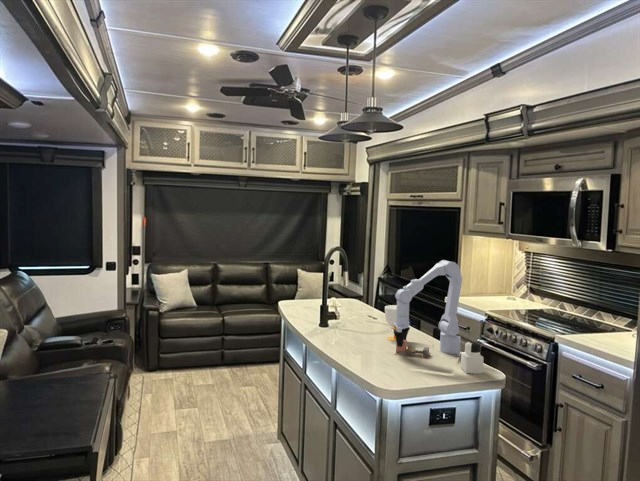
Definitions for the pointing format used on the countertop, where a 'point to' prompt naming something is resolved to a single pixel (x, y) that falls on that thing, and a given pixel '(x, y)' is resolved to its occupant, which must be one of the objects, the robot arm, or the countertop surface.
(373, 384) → the countertop surface
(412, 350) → the cylinder
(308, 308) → the countertop surface
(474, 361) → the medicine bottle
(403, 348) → the block
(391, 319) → the cup
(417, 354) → the cracker bench
